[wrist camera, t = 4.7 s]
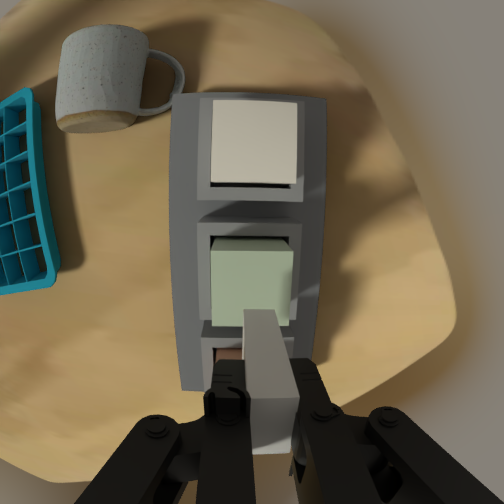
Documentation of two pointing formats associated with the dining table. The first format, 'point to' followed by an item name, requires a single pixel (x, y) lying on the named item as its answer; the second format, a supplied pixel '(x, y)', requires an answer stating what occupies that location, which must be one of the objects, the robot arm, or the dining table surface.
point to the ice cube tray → (3, 241)
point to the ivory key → (254, 142)
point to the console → (240, 227)
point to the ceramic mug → (106, 79)
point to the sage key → (250, 278)
